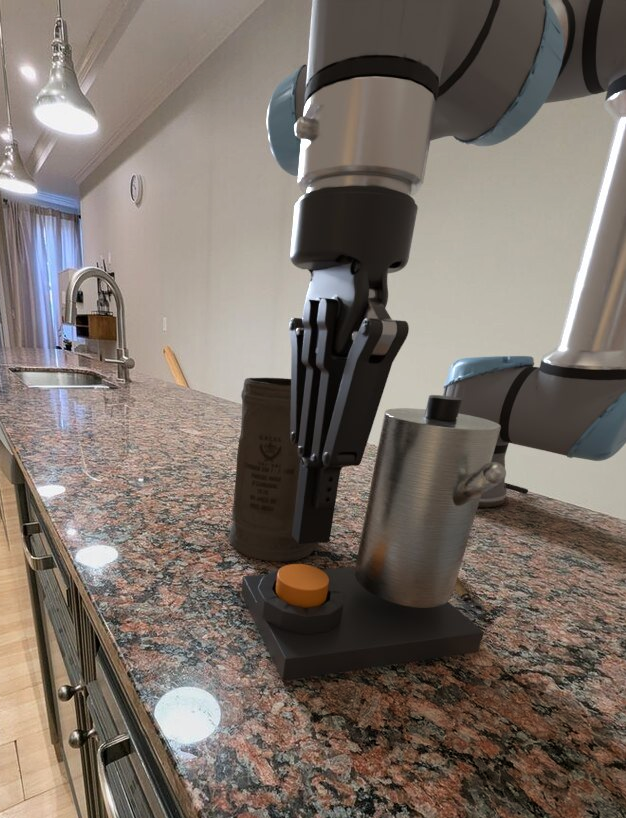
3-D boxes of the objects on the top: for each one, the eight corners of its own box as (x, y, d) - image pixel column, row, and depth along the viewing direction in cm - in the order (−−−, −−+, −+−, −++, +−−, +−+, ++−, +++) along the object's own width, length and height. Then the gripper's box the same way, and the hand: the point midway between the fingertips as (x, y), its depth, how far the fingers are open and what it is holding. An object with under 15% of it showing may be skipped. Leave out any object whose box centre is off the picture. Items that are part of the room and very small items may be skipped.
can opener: (442, 577, 51) (444, 568, 51) (463, 580, 51) (465, 571, 50) (465, 624, 43) (468, 614, 42) (490, 628, 43) (494, 618, 42)
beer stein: (312, 572, 49) (339, 385, 43) (218, 557, 51) (231, 375, 45) (317, 527, 64) (338, 382, 57) (243, 516, 65) (256, 374, 59)
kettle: (398, 543, 49) (433, 387, 42) (500, 623, 36) (572, 416, 30) (326, 548, 46) (352, 383, 40) (407, 635, 34) (464, 413, 27)
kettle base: (398, 580, 49) (405, 548, 48) (477, 652, 39) (490, 614, 37) (239, 595, 44) (242, 559, 43) (280, 682, 34) (286, 639, 32)
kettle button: (313, 578, 41) (316, 561, 40) (335, 605, 37) (338, 587, 37) (268, 582, 40) (270, 565, 39) (286, 610, 36) (288, 592, 35)
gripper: (266, 211, 32) (245, 510, 42) (352, 153, 21) (297, 585, 30) (358, 224, 34) (319, 507, 43) (483, 177, 23) (394, 575, 32)
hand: (310, 538), depth 37 cm, fingers closed
